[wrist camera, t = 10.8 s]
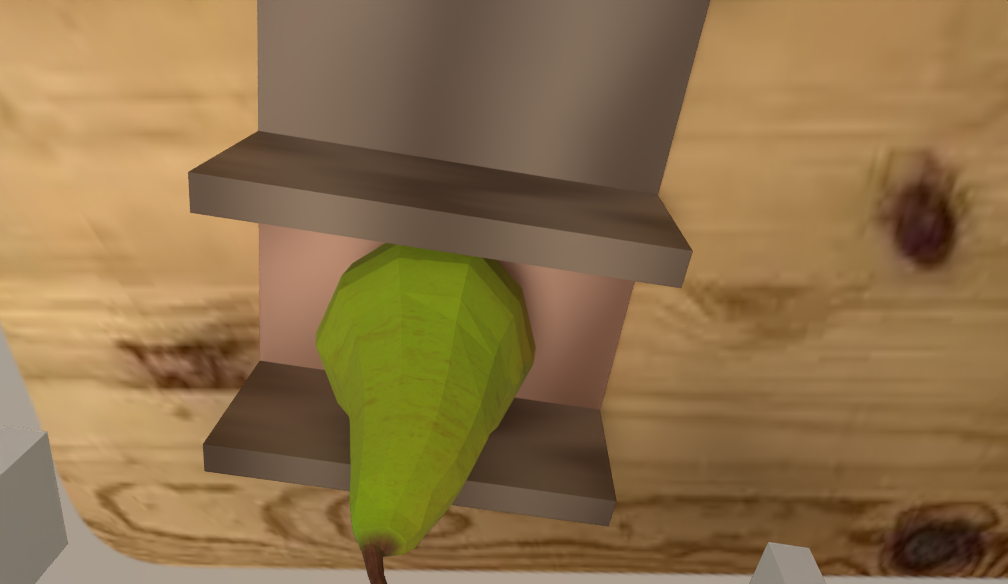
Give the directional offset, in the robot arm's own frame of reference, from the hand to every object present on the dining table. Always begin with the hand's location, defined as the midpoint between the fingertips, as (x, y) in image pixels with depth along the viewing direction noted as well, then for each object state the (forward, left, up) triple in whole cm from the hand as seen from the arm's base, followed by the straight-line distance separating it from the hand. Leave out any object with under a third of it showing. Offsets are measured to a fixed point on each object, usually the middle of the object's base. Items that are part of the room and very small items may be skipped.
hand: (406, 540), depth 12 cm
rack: (0, -4, -12) cm, 12 cm away
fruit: (0, 0, -11) cm, 11 cm away
